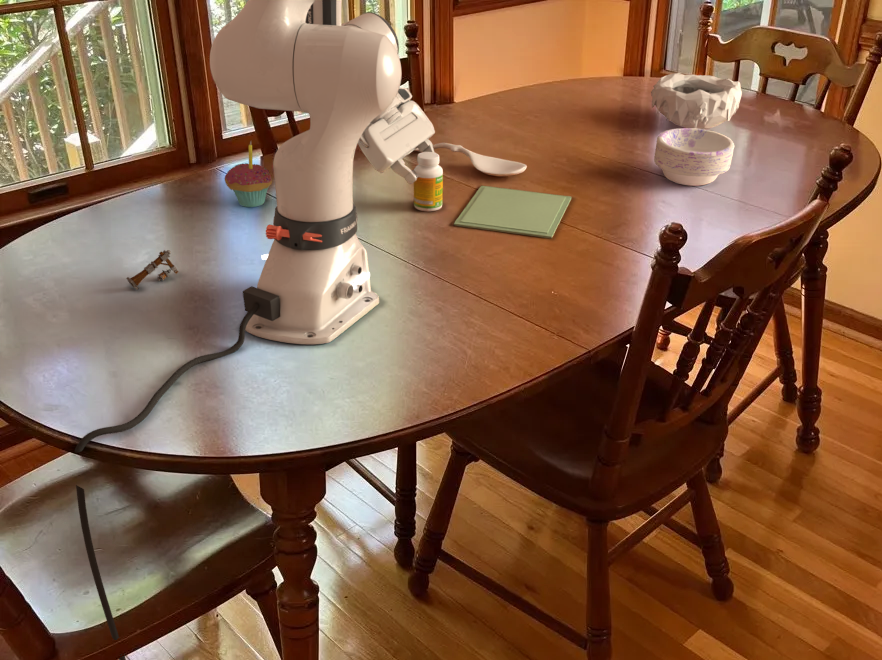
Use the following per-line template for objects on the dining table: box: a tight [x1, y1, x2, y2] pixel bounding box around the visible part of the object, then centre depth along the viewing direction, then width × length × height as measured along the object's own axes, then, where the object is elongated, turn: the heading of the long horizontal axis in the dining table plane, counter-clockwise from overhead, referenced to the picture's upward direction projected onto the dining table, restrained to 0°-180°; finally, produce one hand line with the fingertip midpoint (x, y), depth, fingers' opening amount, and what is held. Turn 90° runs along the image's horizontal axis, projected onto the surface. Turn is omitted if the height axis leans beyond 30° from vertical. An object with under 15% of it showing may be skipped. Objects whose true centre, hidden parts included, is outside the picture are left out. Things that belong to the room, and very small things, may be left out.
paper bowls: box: [653, 127, 735, 187], centre depth 185 cm, size 15×15×8 cm
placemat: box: [453, 185, 572, 239], centre depth 171 cm, size 20×18×1 cm
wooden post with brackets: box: [125, 249, 179, 291], centre depth 145 cm, size 2×8×4 cm, turn 131°
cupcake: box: [224, 140, 273, 208], centre depth 169 cm, size 9×8×12 cm
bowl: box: [650, 72, 743, 130], centre depth 213 cm, size 21×20×10 cm
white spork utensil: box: [413, 138, 528, 177], centre depth 191 cm, size 9×32×4 cm, turn 53°
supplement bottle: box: [413, 151, 444, 212], centre depth 170 cm, size 5×5×10 cm
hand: (425, 173), depth 169 cm, fingers open, 8 cm apart
